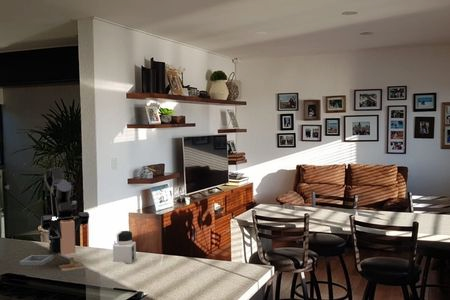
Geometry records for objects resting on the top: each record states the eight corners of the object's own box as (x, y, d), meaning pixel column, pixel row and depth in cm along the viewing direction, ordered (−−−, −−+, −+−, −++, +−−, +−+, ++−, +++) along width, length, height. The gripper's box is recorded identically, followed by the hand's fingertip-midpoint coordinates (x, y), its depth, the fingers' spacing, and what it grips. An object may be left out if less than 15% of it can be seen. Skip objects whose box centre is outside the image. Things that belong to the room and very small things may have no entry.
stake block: (58, 267, 187) (58, 257, 187) (81, 264, 192) (80, 254, 192) (62, 273, 180) (62, 262, 179) (85, 269, 184) (85, 258, 184)
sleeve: (60, 251, 187) (59, 220, 186) (73, 250, 189) (72, 219, 189) (62, 254, 183) (61, 222, 182) (75, 253, 185) (74, 221, 184)
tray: (31, 260, 199) (31, 255, 199) (53, 260, 199) (53, 255, 198) (19, 267, 189) (19, 261, 189) (42, 267, 189) (42, 261, 188)
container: (136, 259, 199) (135, 229, 198) (131, 264, 191) (130, 233, 191) (119, 258, 200) (118, 229, 199) (113, 263, 192) (112, 233, 192)
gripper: (40, 196, 184) (44, 228, 175) (87, 192, 193) (93, 223, 183) (39, 212, 191) (43, 243, 182) (84, 208, 200) (90, 238, 191)
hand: (67, 236), depth 184 cm, fingers closed on sleeve, 5 cm apart
